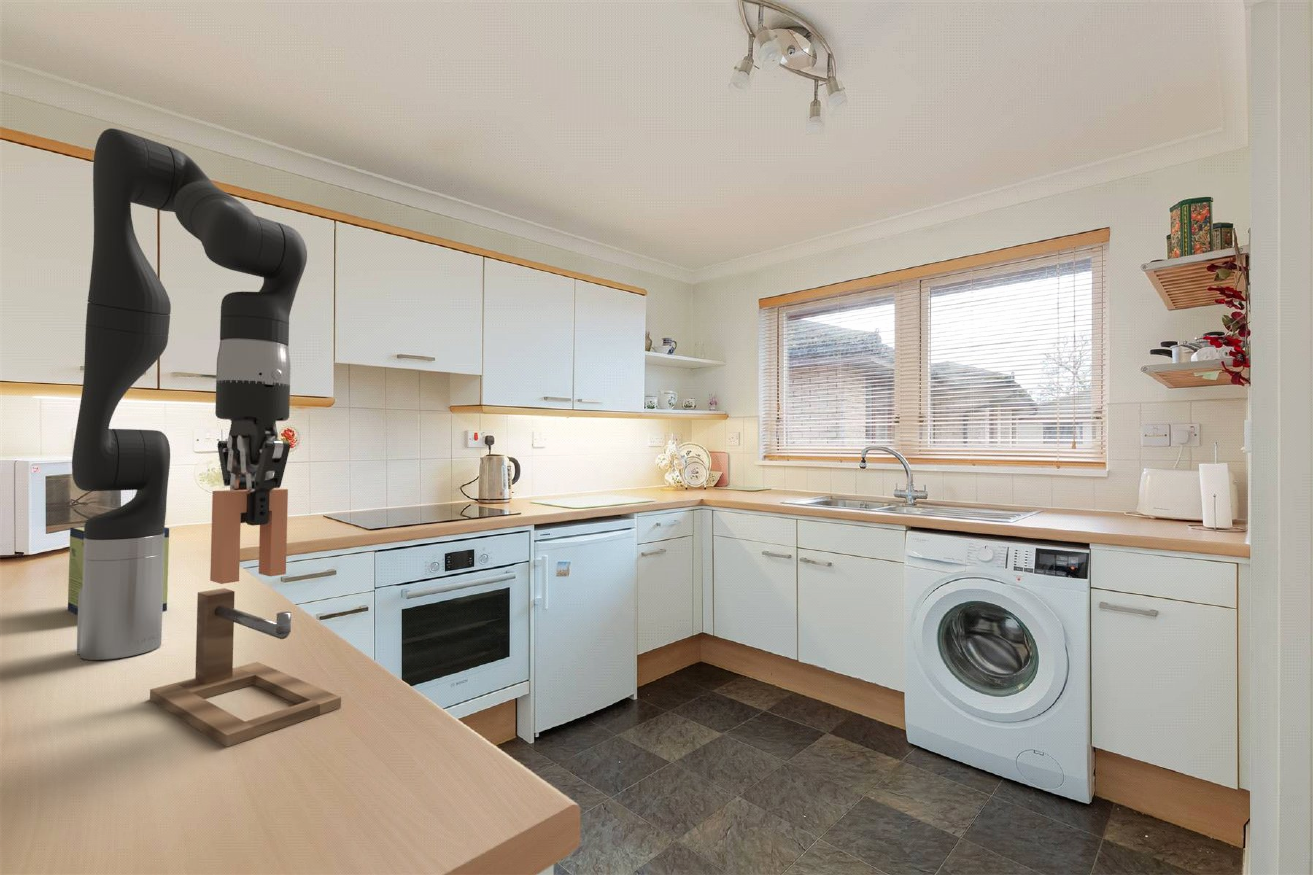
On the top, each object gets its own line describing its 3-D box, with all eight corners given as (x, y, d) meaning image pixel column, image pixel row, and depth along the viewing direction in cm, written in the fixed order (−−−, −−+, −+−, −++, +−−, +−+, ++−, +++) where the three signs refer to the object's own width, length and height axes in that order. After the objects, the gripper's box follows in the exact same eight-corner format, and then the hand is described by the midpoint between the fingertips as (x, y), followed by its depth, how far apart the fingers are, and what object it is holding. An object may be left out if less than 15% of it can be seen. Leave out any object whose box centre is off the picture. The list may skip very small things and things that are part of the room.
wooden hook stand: (149, 699, 75) (152, 598, 76) (257, 670, 85) (259, 581, 85) (226, 746, 64) (229, 627, 64) (340, 707, 74) (343, 604, 74)
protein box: (96, 623, 107) (99, 533, 107) (65, 610, 115) (68, 526, 115) (169, 610, 115) (171, 527, 116) (135, 599, 124) (137, 521, 124)
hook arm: (214, 617, 78) (215, 594, 78) (226, 615, 79) (227, 592, 79) (279, 641, 69) (280, 615, 69) (293, 638, 70) (293, 612, 70)
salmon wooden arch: (221, 583, 71) (223, 492, 71) (210, 580, 72) (212, 490, 73) (285, 574, 77) (287, 489, 77) (274, 571, 78) (276, 488, 78)
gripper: (193, 381, 76) (189, 522, 75) (246, 374, 68) (242, 531, 68) (260, 386, 82) (257, 517, 82) (315, 381, 74) (312, 525, 74)
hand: (250, 522), depth 75 cm, fingers closed on salmon wooden arch, 3 cm apart
